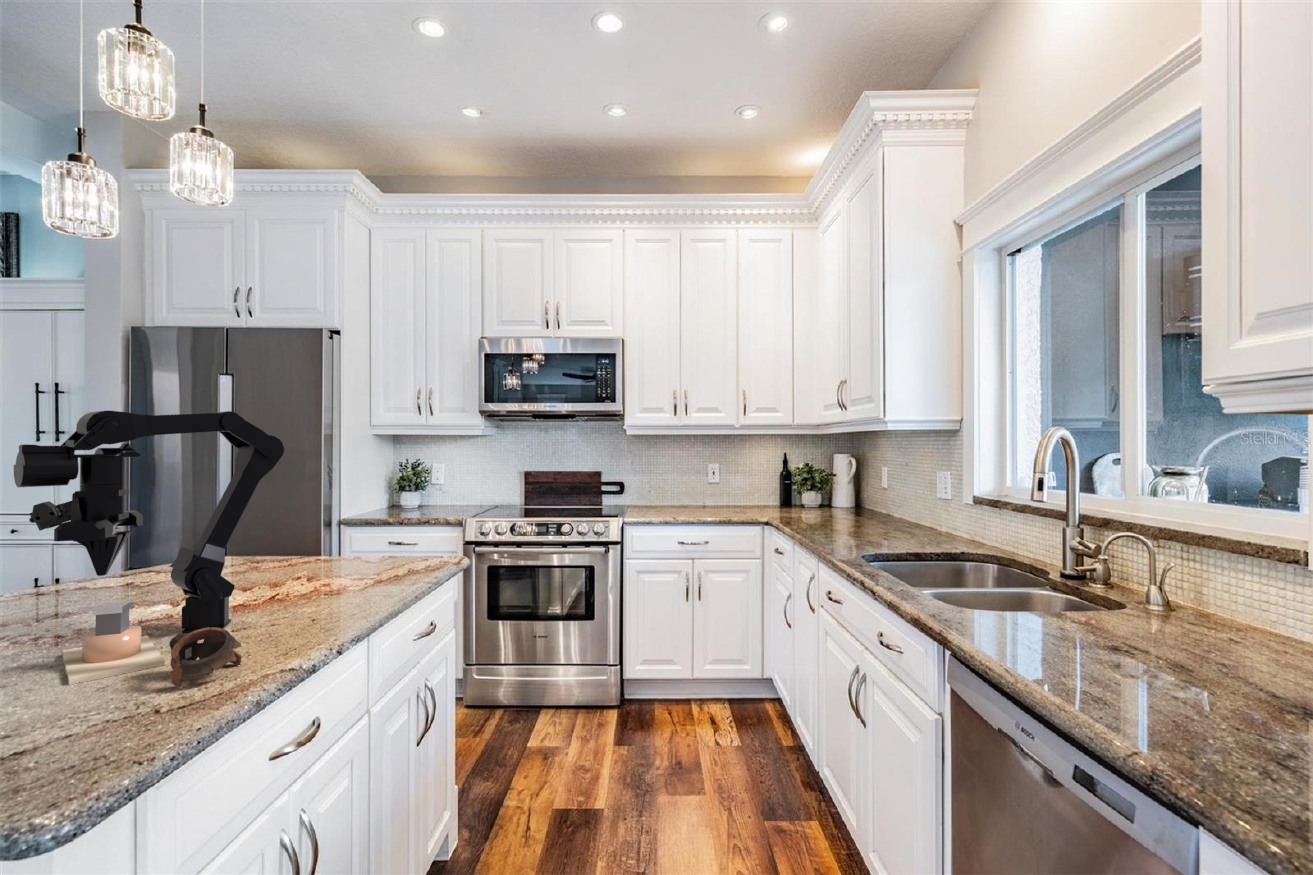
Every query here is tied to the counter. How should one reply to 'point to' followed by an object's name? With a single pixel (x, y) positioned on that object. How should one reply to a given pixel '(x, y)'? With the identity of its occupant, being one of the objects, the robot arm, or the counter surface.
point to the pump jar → (111, 639)
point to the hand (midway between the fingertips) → (101, 575)
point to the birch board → (110, 663)
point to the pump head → (108, 608)
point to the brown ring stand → (201, 653)
